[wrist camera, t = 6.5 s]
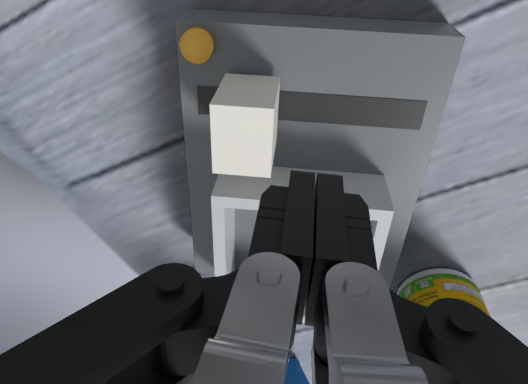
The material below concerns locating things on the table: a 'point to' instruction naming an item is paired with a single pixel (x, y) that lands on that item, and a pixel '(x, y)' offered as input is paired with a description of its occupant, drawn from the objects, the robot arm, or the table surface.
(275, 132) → the breaker handle
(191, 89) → the breaker panel
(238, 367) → the robot arm
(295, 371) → the ornament
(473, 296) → the supplement bottle
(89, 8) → the table surface
